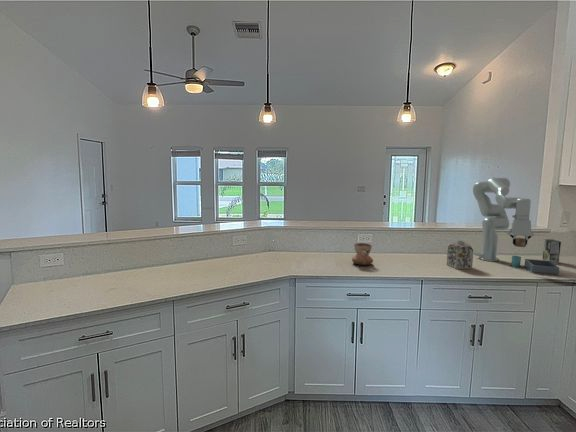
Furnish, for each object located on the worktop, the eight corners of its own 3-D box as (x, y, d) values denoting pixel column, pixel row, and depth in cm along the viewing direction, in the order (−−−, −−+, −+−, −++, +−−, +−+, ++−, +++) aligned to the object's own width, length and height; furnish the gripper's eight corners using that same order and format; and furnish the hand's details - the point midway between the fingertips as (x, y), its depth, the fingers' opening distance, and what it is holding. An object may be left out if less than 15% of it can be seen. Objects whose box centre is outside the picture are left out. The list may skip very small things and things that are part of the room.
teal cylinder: (512, 266, 228) (513, 257, 227) (510, 265, 233) (511, 255, 232) (520, 267, 226) (521, 257, 225) (518, 265, 231) (520, 256, 230)
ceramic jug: (374, 267, 226) (375, 247, 225) (353, 266, 228) (353, 246, 226) (370, 261, 244) (371, 242, 243) (350, 260, 245) (351, 241, 244)
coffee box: (559, 264, 235) (561, 241, 233) (548, 263, 237) (551, 241, 235) (551, 260, 244) (554, 239, 242) (541, 260, 246) (544, 238, 244)
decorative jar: (446, 264, 234) (447, 239, 232) (461, 264, 235) (463, 239, 233) (456, 269, 222) (458, 243, 220) (472, 269, 223) (474, 242, 221)
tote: (558, 275, 209) (559, 267, 208) (531, 272, 214) (532, 265, 214) (548, 268, 225) (549, 260, 225) (524, 265, 231) (525, 258, 230)
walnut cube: (515, 246, 215) (516, 238, 215) (514, 245, 220) (514, 237, 219) (524, 247, 213) (525, 239, 213) (523, 245, 218) (523, 238, 217)
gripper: (507, 217, 214) (505, 245, 217) (539, 219, 207) (537, 247, 210) (505, 216, 221) (503, 243, 223) (536, 217, 214) (534, 245, 216)
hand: (519, 245), depth 216 cm, fingers closed on walnut cube, 4 cm apart
